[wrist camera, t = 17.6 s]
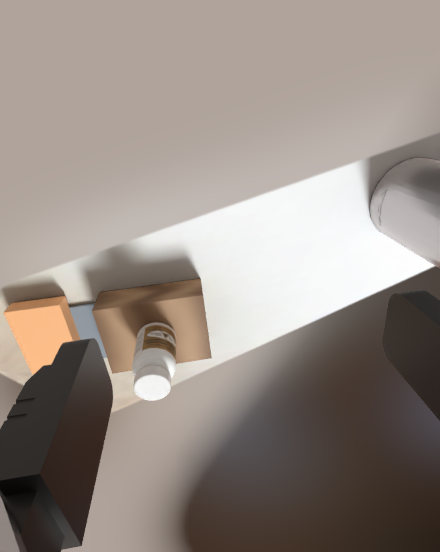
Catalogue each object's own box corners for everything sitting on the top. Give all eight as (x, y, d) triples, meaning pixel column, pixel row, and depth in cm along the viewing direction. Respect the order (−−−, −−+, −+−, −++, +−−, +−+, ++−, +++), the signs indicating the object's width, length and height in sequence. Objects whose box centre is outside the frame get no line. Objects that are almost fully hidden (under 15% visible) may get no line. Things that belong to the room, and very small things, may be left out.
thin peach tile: (3, 312, 36) (11, 303, 38) (32, 374, 40) (38, 362, 42) (59, 305, 36) (64, 296, 38) (82, 366, 40) (86, 356, 42)
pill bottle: (182, 328, 38) (183, 378, 31) (166, 355, 39) (164, 409, 32) (146, 315, 36) (138, 364, 29) (131, 344, 38) (121, 397, 31)
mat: (96, 302, 39) (95, 304, 39) (112, 354, 43) (111, 356, 43) (31, 311, 39) (30, 313, 39) (54, 363, 43) (53, 365, 42)
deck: (200, 278, 40) (202, 294, 36) (208, 337, 44) (211, 358, 40) (99, 292, 39) (91, 310, 35) (117, 351, 43) (112, 373, 39)
